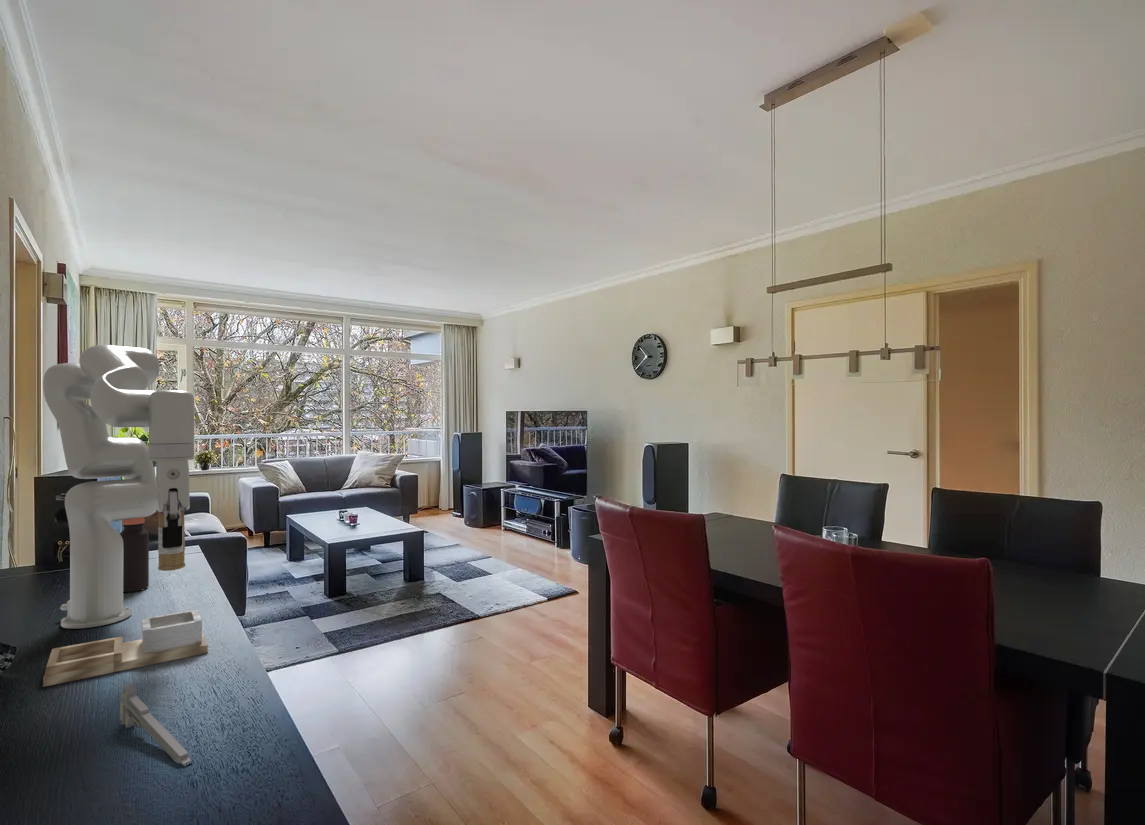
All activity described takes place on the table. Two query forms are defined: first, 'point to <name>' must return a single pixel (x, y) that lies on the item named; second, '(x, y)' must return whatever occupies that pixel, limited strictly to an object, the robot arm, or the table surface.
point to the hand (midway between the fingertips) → (171, 544)
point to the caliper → (149, 724)
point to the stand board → (107, 658)
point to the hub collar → (171, 631)
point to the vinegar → (135, 555)
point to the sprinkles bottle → (170, 556)
